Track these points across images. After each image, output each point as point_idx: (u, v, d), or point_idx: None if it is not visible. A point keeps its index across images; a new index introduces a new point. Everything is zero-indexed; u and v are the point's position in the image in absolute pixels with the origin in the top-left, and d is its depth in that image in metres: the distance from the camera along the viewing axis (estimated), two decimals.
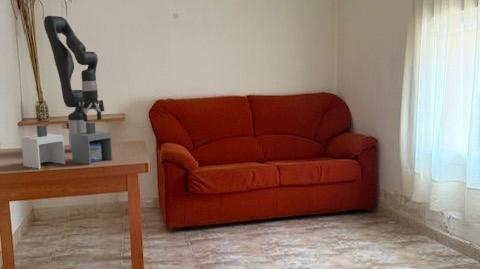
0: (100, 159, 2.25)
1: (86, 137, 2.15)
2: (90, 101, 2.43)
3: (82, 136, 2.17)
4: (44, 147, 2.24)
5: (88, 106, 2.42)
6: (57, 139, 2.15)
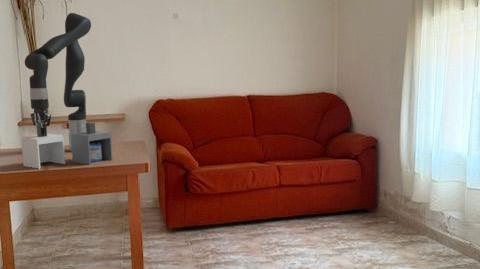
0: (100, 159, 2.25)
1: (86, 137, 2.15)
2: None
3: (82, 136, 2.17)
4: (44, 147, 2.24)
5: None
6: (57, 139, 2.15)
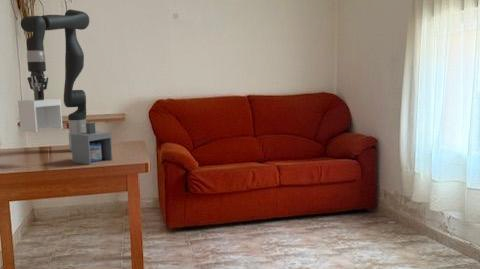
0: (100, 159, 2.25)
1: (86, 137, 2.15)
2: None
3: (82, 136, 2.17)
4: (41, 112, 2.22)
5: None
6: (54, 103, 2.13)
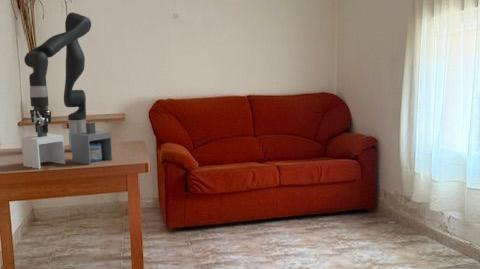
0: (100, 159, 2.25)
1: (86, 137, 2.15)
2: None
3: (82, 136, 2.17)
4: (44, 147, 2.24)
5: None
6: (57, 139, 2.15)
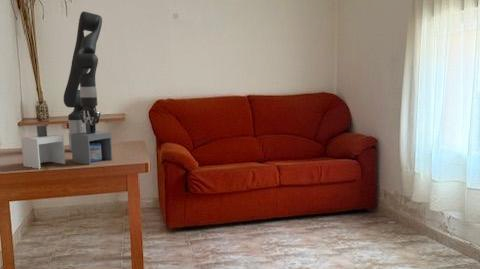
0: (100, 159, 2.25)
1: (86, 137, 2.15)
2: None
3: (82, 136, 2.17)
4: (44, 147, 2.24)
5: None
6: (57, 139, 2.15)
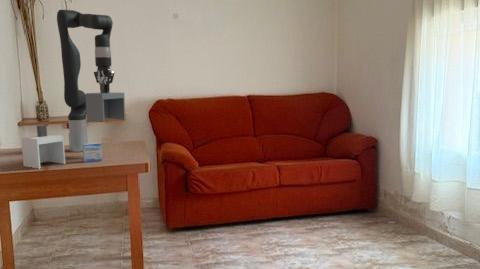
0: (100, 159, 2.25)
1: (100, 95, 2.22)
2: None
3: (96, 95, 2.24)
4: (44, 147, 2.24)
5: None
6: (57, 139, 2.15)
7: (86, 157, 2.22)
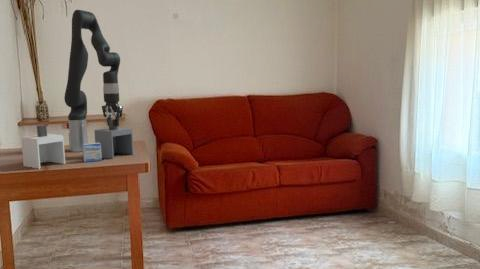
0: (100, 159, 2.25)
1: (110, 133, 2.29)
2: None
3: (106, 132, 2.30)
4: (44, 147, 2.24)
5: None
6: (57, 139, 2.15)
7: (86, 157, 2.22)
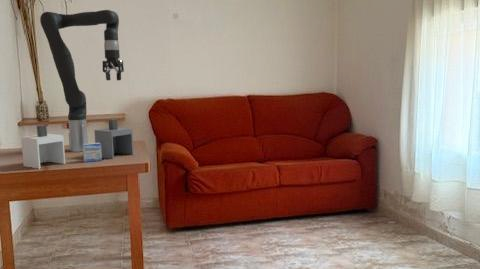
0: (100, 159, 2.25)
1: (110, 133, 2.29)
2: None
3: (106, 132, 2.30)
4: (44, 147, 2.24)
5: None
6: (57, 139, 2.15)
7: (86, 157, 2.22)
